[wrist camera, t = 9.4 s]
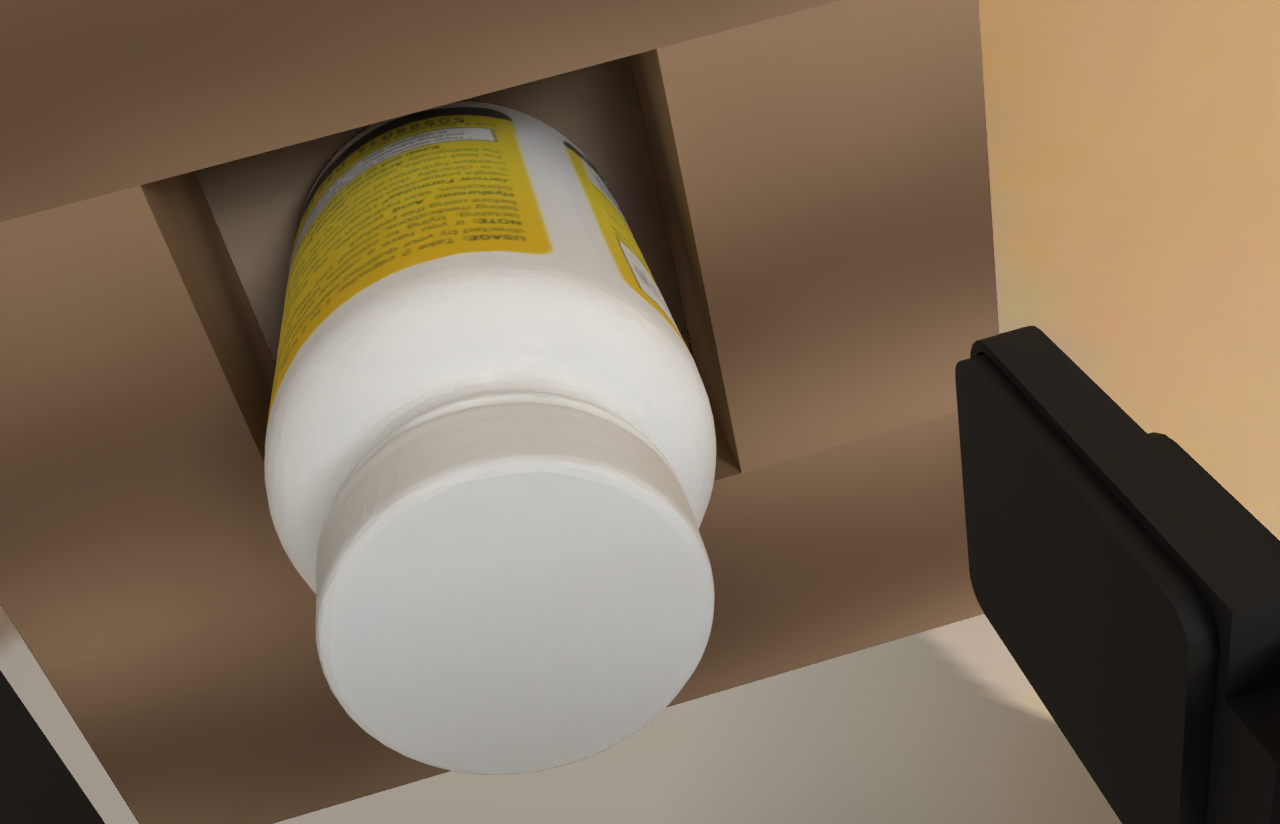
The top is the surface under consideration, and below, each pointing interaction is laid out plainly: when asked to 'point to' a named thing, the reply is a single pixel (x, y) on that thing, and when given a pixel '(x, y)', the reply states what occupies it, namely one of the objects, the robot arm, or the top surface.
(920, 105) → the socket block
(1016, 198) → the top surface
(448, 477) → the supplement bottle
